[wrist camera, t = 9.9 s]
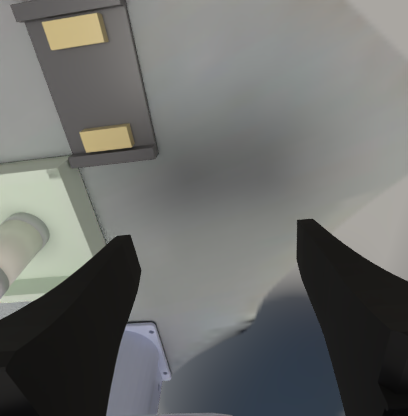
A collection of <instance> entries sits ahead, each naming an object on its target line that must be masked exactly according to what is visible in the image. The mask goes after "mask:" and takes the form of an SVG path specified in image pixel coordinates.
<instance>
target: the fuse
mask: <svg viewBox="0 0 408 416" xmlns="http://www.w3.org/2000/svg"><path fill="white" fill-rule="evenodd" d="M49 237H50V234H49V230H48V228H47V226H46V225H45V223H44V222H43V221H42V220H40V219H39V218H38V217H36V216H34V215H32V214H29V213H24V212H18V213H14V214H12V215H11V216H9V217H8V218H7V219H6V220H5V221H4V222H2V223H1V225H0V299H1V298H2V296H3V295H4V294H5V293H6V292H7V290H8V289H9V287H10V286H11V284H12V283H13V282H14V281H15V280H16V278H17V277H18V276H19V275H20V274H21V272H22V271H23V270H24V269H25V268H26V266H27V265H28V264H29V263H30V262H31V260H32V259H33V258H34V257H35V256H36V254H37V253H38V252H40V251H41V249H42V248H43V247H44V246H45V245H46V243H47V242H48V241H49Z"/></svg>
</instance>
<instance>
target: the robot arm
mask: <svg viewBox="0 0 408 416" xmlns="http://www.w3.org/2000/svg"><path fill="white" fill-rule="evenodd" d="M297 263H298V267H299V270H300V274H301V278H302V281H303V284H304V286H305V289H306V291H307V293H308V296H309V299H310V301H311V304H312V306H313V309H314V311H315V313H316V316H317V318H318V321H319V323H320V326H321V328H322V332H323V334H324V337H325V341H326V344H327V348H328V351H329V355H330V358H331V361H332V365H333V369H334V373H335V376H336V380H337V384H338V387H339V391H340V395H341V399H342V403H343V407H344V411H345V415H346V416H408V281H406V280H404V279H402V278H400V277H398V276H395V275H393V274H392V273H390V272H388V271H386V270H384V269H382V268H381V267H379V266H377V265H375V264H373V263H372V262H370V261H369V260H367V259H365V258H364V257H362V256H361V255H359V254H358V253H356V252H355V251H353V250H352V249H350V248H349V247H348V246H346V245H345V244H343V243H342V242H341V241H339V240H338V239H337V238H336V237H334V236H333V235H332V234H331V233H329V232H328V231H327V230H326V229H324V228H323V227H322V226H321V225H320V224H318V223H317V222H316V221H315V220H313V219H304V220H297ZM140 275H141V268H140V264H139V261H138V258H137V255H136V251H135V248H134V245H133V242H132V238H131V235H122V236H116V237H115V238H114V239H113V240H111V241H110V242H109V243H108V244H107V245H106V246H105V247H103V248H102V249H101V250H100V251H99V252H98V253H97V254H96V255H94V256H93V257H92V258H91V259H90V260H89V261H88V262H86V263H85V264H84V265H83V266H82V267H80V268H79V269H78V270H77V271H75V272H74V273H73V274H72V275H71V276H69V277H68V278H67V279H66V280H64V281H63V282H62V283H60V284H59V285H57V286H56V287H55V288H53V289H52V290H50V291H49V292H47V293H46V294H44V295H43V296H41V297H40V298H38V299H36V300H35V301H33V302H31V303H30V304H28V305H26V306H25V307H23V308H21V309H20V310H18V311H16V312H14V313H12V314H10V315H8V316H7V317H5V318H3V319H1V320H0V416H232V415H225V414H217V413H189V414H157V412H158V405H159V399H160V393H161V386H162V381H169V380H171V372H170V369H169V366H168V363H167V360H166V357H165V353H164V350H163V347H162V344H161V341H160V338H159V334H158V331H157V328H156V325H155V324H154V323H151V322H149V323H131V324H127V321H128V318H129V316H130V313H131V310H132V307H133V304H134V301H135V297H136V294H137V291H138V286H139V281H140Z"/></svg>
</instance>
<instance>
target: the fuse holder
mask: <svg viewBox="0 0 408 416" xmlns="http://www.w3.org/2000/svg"><path fill="white" fill-rule="evenodd" d="M10 6H11V8H12V11H13V14H14V16H15V19H16V21H17V22H25V25H26V27H27V30H28V33H29V36H30V38H31V41H32V44H33V47H34V49H35V52H36V55H37V57H38V60H39V63H40V66H41V68H42V71H43V74H44V77H45V79H46V82H47V85H48V88H49V90H50V93H51V96H52V99H53V101H54V104H55V107H56V110H57V112H58V115H59V118H60V121H61V123H62V126H63V129H64V131H65V134H66V137H67V140H68V142H69V145H70V148H71V151H72V153H73V154H72V155H71V156H69V157H68V160H69V163H70V165H71V168H72V169H73V168H82V167H90V166H99V165H108V164H117V163H126V162H134V161H143V160H152V159H156V157H157V155H158V149H157V144H156V140H155V135H154V130H153V126H152V121H151V117H150V112H149V107H148V103H147V98H146V94H145V89H144V84H143V80H142V75H141V71H140V66H139V61H138V57H137V52H136V48H135V43H134V39H133V34H132V29H131V25H130V20H129V16H128V11H127V6H126V2H125V0H34V1H29V2H23V3H18V4H12V5H10Z"/></svg>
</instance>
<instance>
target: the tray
mask: <svg viewBox="0 0 408 416" xmlns="http://www.w3.org/2000/svg"><path fill="white" fill-rule="evenodd" d="M69 156H71V155H68V156H60V157H51V158H43V159H35V160H26V161H18V162H9V163H1V164H0V225H1V223H2V222H4V221H5V220H6V219H7V218H8V217H9V216H11V215H12V214H14V213H18V212H24V213H29V214H32V215H34V216H36V217H38V218H39V219H40V220H42V221H43V222H44V223H45V225H46V226H47V228H48V230H49V234H50V237H49V241H48V242H47V243H46V245H45V246H44V247H43V248H42V249H41V251H40V252H38V253H37V254H36V256H35V257H34V258H33V259H32V260H31V262H30V263H29V264H28V265H27V266H26V268H25V269H24V270H23V271H22V272H21V274H20V275H19V276H18V277H17V278H16V280H15V281H14V282H13V283H12V284H11V286H10V287H9V289H8V290H7V292H6V293H5V294H4V295H3V296H2V298H1V299H0V303H11V302H26V301H35V300H36V299H38V298H40V297H41V296H43V295H44V294H46V293H47V292H49V291H50V290H52V289H53V288H55V287H56V286H57V285H59V284H60V283H62V282H63V281H64V280H66V279H67V278H68V277H69V276H71V275H72V274H73V273H74V272H75V271H77V270H78V269H79V268H80V267H82V266H83V265H84V264H85V263H86V262H88V261H89V260H90V259H91V258H92V257H93V256H94V255H96V254H97V253H98V252H99V251H100V250H101V249H102V248H103V247H105V246H106V243H105V240H104V238H103V235H102V232H101V229H100V227H99V224H98V221H97V218H96V216H95V213H94V210H93V207H92V205H91V202H90V199H89V197H88V194H87V191H86V188H85V186H84V183H83V180H82V177H81V175H80V172H79V169H78V168H73V169H72V168H71V165H70V163H69V160H68V157H69Z"/></svg>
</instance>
